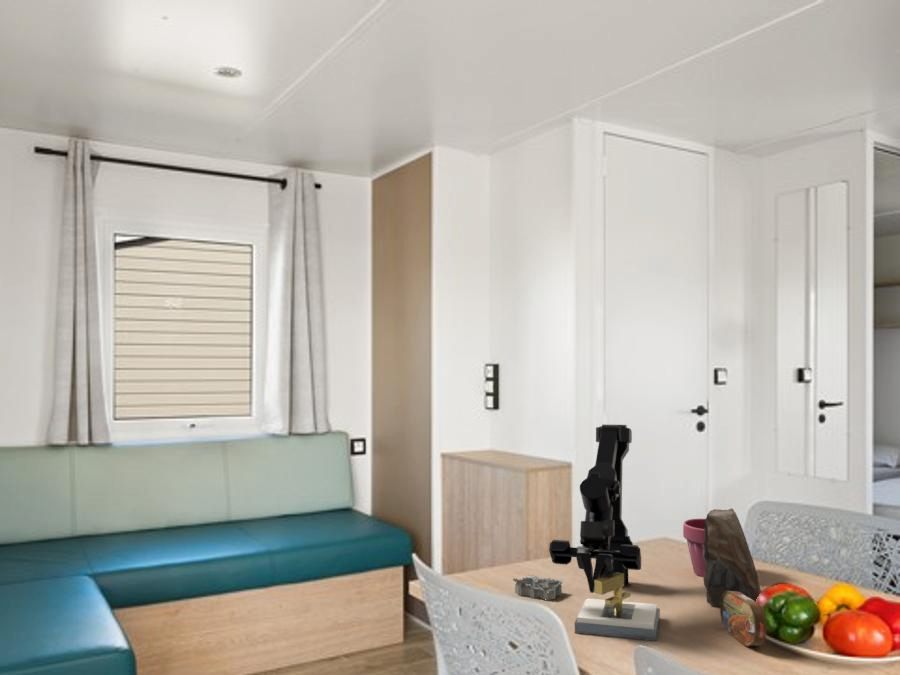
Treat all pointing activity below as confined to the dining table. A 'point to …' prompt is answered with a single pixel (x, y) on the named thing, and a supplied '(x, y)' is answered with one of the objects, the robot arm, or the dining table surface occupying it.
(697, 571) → the plant pot
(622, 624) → the cover
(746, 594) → the dark brown tall lump
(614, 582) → the key
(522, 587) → the egg carton
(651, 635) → the grey flat block
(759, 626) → the tin
